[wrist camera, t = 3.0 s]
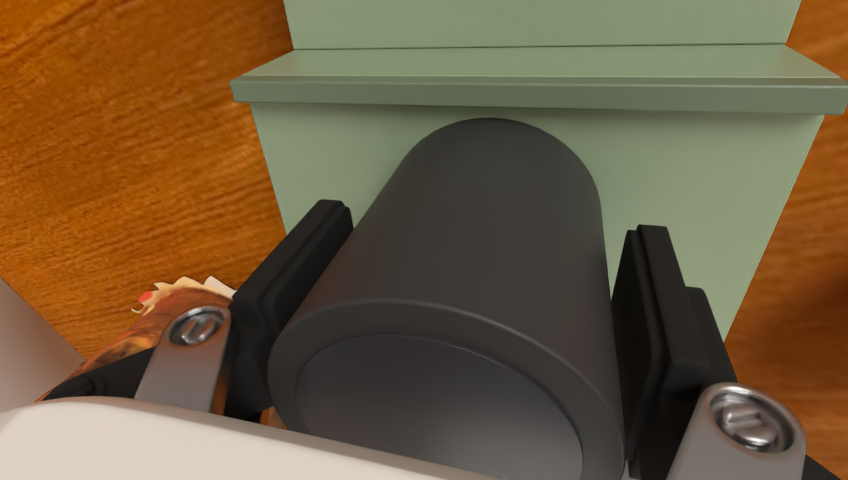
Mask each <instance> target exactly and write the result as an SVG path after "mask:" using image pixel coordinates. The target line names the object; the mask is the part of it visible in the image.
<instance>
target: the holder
mask: <svg viewBox="0 0 848 480" xmlns="http://www.w3.org/2000/svg"><path fill="white" fill-rule="evenodd" d="M267 382H268V389H269V393H270V396H271V399H272V402H273V404H274V407H275V409H276V411H277V413H278V415H279V417H280V418H281V420H282V421H283V423H284V424H285V426H286V427H287V429H288V430H289V431H294V432H299V433H303V434H308V435H312V436H317V437H321V438H326V439H330V440H335V441H339V442H344V443H348V444H353V445H357V446H362V447H366V448H371V449H375V450H379V451H384V452H388V453H393V454H397V455H402V456H406V457H411V458H415V459H419V460H424V461H428V462H433V463H437V464H442V465H446V466H451V467H455V468H459V469H464V470H468V471H472V472H477V473H481V474H485V475H490V476H494V477H499V478H503V479H507V480H621V478H622V476H623V474H624V469H625V464H626V460H627V454H626V438H625V428H624V419H623V409H622V400H621V390H620V381H619V371H618V362H617V353H616V343H615V334H614V324H613V315H612V305H611V296H610V286H609V277H608V267H607V258H606V249H605V239H604V230H603V220H602V211H601V202H600V198H599V194H598V190H597V187H596V185H595V182H594V180H593V178H592V176H591V174H590V173H589V171H588V169H587V168H586V166H585V165H584V163H583V162H582V161H581V160H580V158H579V157H578V156H577V155H576V154H575V153H574V152H573V151H572V150H571V149H570V148H569V147H568V146H567V145H565V144H564V143H563V142H561V141H560V140H558V139H557V138H556V137H554V136H553V135H551V134H549V133H547V132H545V131H543V130H541V129H539V128H537V127H534V126H531V125H529V124H526V123H523V122H518V121H514V120H509V119H501V118H474V119H468V120H463V121H459V122H455V123H452V124H449V125H446V126H444V127H442V128H440V129H438V130H435V131H434V132H432V133H431V134H429V135H427V136H426V137H424V138H423V139H422V140H421V141H419V142H418V143H417V144H416V145H415V146H414V147H413V148H412V149H411V150H410V151H409V153H408V154H407V155H406V156H405V157H404V159H403V160H402V162H401V163H400V164H399V166H398V167H397V169H396V170H395V172H394V173H393V174H392V176H391V177H390V179H389V180H388V181H387V183H386V184H385V186H384V187H383V189H382V190H381V191H380V193H379V194H378V196H377V197H376V198H375V200H374V201H373V203H372V204H371V206H370V207H369V208H368V210H367V211H366V213H365V214H364V215H363V217H362V218H361V220H360V221H359V223H358V224H357V225H356V227H355V228H354V230H353V231H352V232H351V234H350V235H349V237H348V238H347V240H346V241H345V242H344V244H343V245H342V247H341V248H340V249H339V251H338V252H337V254H336V255H335V257H334V258H333V259H332V261H331V262H330V264H329V265H328V266H327V268H326V269H325V271H324V272H323V274H322V275H321V276H320V278H319V279H318V281H317V282H316V283H315V285H314V286H313V288H312V289H311V291H310V292H309V293H308V295H307V296H306V298H305V299H304V300H303V302H302V303H301V305H300V306H299V307H298V309H297V310H296V312H295V313H294V315H293V316H292V317H291V319H290V320H289V322H288V323H287V324H286V326H285V327H284V329H283V330H282V332H281V333H280V334H279V336H278V338H277V339H276V341H275V343H274V345H273V346H272V349H271V352H270V355H269V359H268V364H267Z"/></svg>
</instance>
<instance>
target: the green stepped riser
mask: <svg viewBox="0 0 848 480" xmlns="http://www.w3.org/2000/svg"><path fill="white" fill-rule="evenodd" d="M283 2H284V7H285V12H286V16H287V21H288V26H289V30H290V35H291V40H292V44H293V48H294V49H295V50H294V51H292V52H290V53H288V54H285V55H283V56H281V57H279V58H277V59H275V60H273V61H270V62H268V63H266V64H264V65H262V66H260V67H257V68H255V69H253V70H251V71H249V72H247V73H245V74H243V75H241V76H239V77H237V78H235V79H232V80H230V81H229V84H230V88H231V91H232V94H233V98H234V100H235V102H246V103H249V104H250V108H251V111H252V115H253V118H254V122H255V126H256V129H257V133H258V136H259V140H260V143H261V147H262V150H263V154H264V157H265V161H266V164H267V168H268V171H269V175H270V178H271V182H272V185H273V189H274V192H275V196H276V199H277V203H278V206H279V210H280V214H281V217H282V221H283V224H284V228H285V231H286V235H288V233H289V232H290V231H291V230H292V229H293V228H294V227H295V226H296V225H297V224H298V222H299V221H300V220H301V219H302V218H303V217H304V216H305V215H306V214H307V212H308V211H309V210H310V209H311V208H312V207H313V206H314V205H315V204H316V203H317V201H319V200H320V199H328V200H340V201H342V202H343V203H344V205H345V206H347V207H349V208H350V211H351V216H352V221H353V227H354V228H355V227H356V225H357V224H358V223H359V221H360V220H361V218H362V217H363V215H364V214H365V213H366V211H367V210H368V208H369V207H370V206H371V204H372V203H373V201H374V200H375V198H376V197H377V196H378V194H379V193H380V191H381V190H382V189H383V187H384V186H385V184H386V183H387V181H388V180H389V179H390V177H391V176H392V174H393V173H394V172H395V170H396V169H397V167H398V166H399V164H400V163H401V162H402V160H403V159H404V157H405V156H406V155H407V154H408V153H409V151H410V150H411V149H412V148H413V147H414V146H415V145H416V144H417V143H418V142H419V141H421V140H422V139H423V138H424V137H426V136H427V135H429V134H431V133H432V132H434V131H435V130H438V129H440V128H442V127H444V126H446V125H449V124H452V123H455V122H459V121H463V120H468V119H474V118H501V119H509V120H514V121H518V122H523V123H526V124H529V125H531V126H534V127H537V128H539V129H541V130H543V131H545V132H547V133H549V134H551V135H553V136H554V137H556V138H557V139H558V140H560V141H561V142H563V143H564V144H565V145H567V146H568V147H569V148H570V149H571V150H572V151H573V152H574V153H575V154H576V155H577V156H578V157H579V158H580V160H581V161H582V162H583V163H584V165H585V166H586V168H587V169H588V171H589V173H590V174H591V176H592V178H593V180H594V182H595V185H596V187H597V190H598V194H599V198H600V202H601V211H602V220H603V230H604V239H605V249H606V258H607V267H608V277H609V286H610V296H611V298H612V294H613V289H614V285H615V281H616V276H617V272H618V267H619V263H620V259H621V254H622V250H623V245H624V241H625V236H626V233H627V230H636V228H637V226H638V225H639V224H644V225H657V226H666V227H667V229H668V232H669V235H670V238H671V241H672V245H673V248H674V251H675V254H676V257H677V260H678V264H679V267H680V270H681V273H682V276H683V280H684V283H685V286H689V287H698V288H702V289H703V290H704V292H705V294H706V296H707V298H708V301H709V304H710V307H711V309H712V312H713V315H714V318H715V320H716V323H717V326H718V329H719V331H720V334H721V337H722V340H723V342H724V340H725V338H726V336H727V333H728V331H729V329H730V327H731V324H732V322H733V320H734V318H735V315H736V313H737V311H738V309H739V307H740V304H741V302H742V300H743V298H744V295H745V293H746V291H747V289H748V286H749V284H750V282H751V280H752V277H753V275H754V273H755V271H756V268H757V266H758V264H759V262H760V259H761V257H762V255H763V253H764V250H765V248H766V246H767V244H768V241H769V239H770V237H771V235H772V233H773V230H774V228H775V226H776V224H777V221H778V219H779V217H780V215H781V212H782V210H783V208H784V206H785V203H786V201H787V199H788V197H789V194H790V192H791V190H792V188H793V185H794V183H795V181H796V179H797V176H798V174H799V172H800V170H801V167H802V165H803V163H804V161H805V158H806V156H807V154H808V152H809V150H810V147H811V145H812V143H813V141H814V138H815V136H816V134H817V132H818V129H819V127H820V125H821V123H822V120H823V118H824V116H825V115H841V114H843V113H844V111H845V109H846V106H847V104H848V82H847V81H846V80H844V79H842V78H841V77H840V76H838V75H836V74H835V73H833V72H831V71H829V70H828V69H826V68H824V67H822V66H821V65H819V64H817V63H815V62H814V61H812V60H810V59H809V58H807V57H805V56H803V55H802V54H800V53H798V52H796V51H795V50H793V49H791V48H789V47H788V46H786V45H784V43H786V41H787V39H788V36H789V33H790V30H791V28H792V25H793V22H794V19H795V17H796V14H797V11H798V8H799V6H800V3H801V0H283Z"/></svg>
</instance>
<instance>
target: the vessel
mask: <svg viewBox="0 0 848 480" xmlns="http://www.w3.org/2000/svg"><path fill="white" fill-rule="evenodd" d="M154 285H155V286H156V287H157V288H159V289H160V290H157V291H145V292H144V294H143V295H142V296H141V297H140V298H139V300H138V301H139V302H140V303H142V304H143V305H144V307H143V309H141V310H139V311H136V310H134V309H132V308H131V310H132V311H134V312H136V313H138V314H141V315H143V317H142V318H141V319H140V320H139V321H137V322H136V323H135V324H134V325H133V326H132V327H130V328H129V329H128V330H127V331H125V332H124V333H123V334H121V335H120V336H119V337H117V338H116V339H115V340H114V341H113V342H111V343H110V344H109V345H107V346H106V347H105V348H103V349H102V350H100V351H99V352H97V353H96V354H95V355H94V356H92V357H91V358H90V359H89V360H88V361H85V362H83V363H82V364H81V365H80V366H79V367H78V368H77V369H76V371H75V372H74V373H73V374H72V375H70V376H69V377H68V378H67V379H66V380H65V381H67V380H69V379H71V378H73V377H75V376H78V375H80V374H83V373H85V372H88V371H91V370H93V369H96V368H98V367H101V366H104V365H106V364H109V363H111V362H114V361H117V360H119V359H122V358H125V357H127V356H130V355H132V354H135V353H138V352H140V351H143V350H145V349H148V348H151V347H153V346H156V345H157V342H158V340H159V337H160V335H161V333H162V331H163V329H164V328H165V326H166V324H167V323H168V322H169V321H171V320H172V319H173V318H174V317H175V316H177V315H178V314H180V313H181V312H183V311H185V310H187V309H189V308H192V307H194V306H198V305H202V304H210V303H215V304H221V305H223V306H225V307H228V306H229V304H230V303H231V302H232V301H233V299H232V295H233V294H234V293H235V292H236V291H237V290H233V289H231V288H229V287H228V286H226V285H224V284H223V283H221V282H220V281H218V280H217V279H215V278H214V277H212V276H210V277H209V278H208V279H207V280H206V282H205V283H204V285H202V284H200V283H198V282H197V281H195V280H192V279H190V278H187V277H182V278H181V279H179V280H177V281H176V282H175V283H174V285H171V284H167V283H163V282H161V283H154ZM65 381H63V382H65ZM63 382H62V383H63ZM62 383H61V384H62ZM59 385H60V384H59ZM59 385H58V386H59ZM56 387H57V386H56ZM56 387H55V388H56ZM52 390H53V389H52ZM52 390H50V391H48V392H47V393H46V394H44V395H43V396H41V397H40V398H39V399H38V400H36V401H35V402H39V401H42V399H43V398H44V397H45V396H46V395H47V394H49V393H50V392H51V391H52ZM33 403H34V402H33ZM283 425H284V423H283V421H282V420H281V418H280V417H279V415H278V413H277V411H276V409H275V407H274V405H273V407H271V408H269V419H268V426H271V427H276V428H280V429H281V428H282V427H283Z"/></svg>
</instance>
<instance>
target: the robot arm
mask: <svg viewBox="0 0 848 480" xmlns="http://www.w3.org/2000/svg"><path fill="white" fill-rule="evenodd" d="M353 230H354V227H353V221H352V216H351V211H350V208H349V207H347V206H345V205H344V203H343V202H342V201H340V200H328V199H320V200H319V201H317V203H316V204H315V205H314V206H313V207H312V208H311V209H310V210H309V211H308V212H307V214H306V215H305V216H304V217H303V218H302V219H301V220H300V221H299V222H298V224H297V225H296V226H295V227H294V228H293V229H292V230H291V231H290V232H289V233H288V235H287V236H286V237H285V238H284V239H283V240H282V241H281V242H280V243H279V245H278V246H277V247H276V248H275V249H274V250H273V251H272V252H271V253H270V254H269V256H268V257H267V258H266V259H265V260H264V261H263V262H262V263H261V264H260V265H259V267H258V268H257V269H256V270H255V271H254V272H253V273H252V274H251V275H250V277H249V278H248V279H247V280H246V281H245V282H244V283H243V284H242V285H241V286H240V288H239V289H238V290H237V291H236V292H235V293H234V294H233V295H232V299H233V301H232V302H231V303H230V304H229V306H228V307H225V306H223V305H221V304H215V303H210V304H202V305H198V306H194V307H192V308H189V309H187V310H185V311H183V312H181V313H180V314H178V315H177V316H175V317H174V318H173V319H172V320H171V321H169V322H168V323H167V324H166V326H165V328H164V329H163V331H162V333H161V335H160V337H159V340H158V342H157V345H156V346H153V347H151V348H148V349H145V350H143V351H140V352H138V353H135V354H132V355H130V356H127V357H125V358H122V359H119V360H117V361H114V362H111V363H109V364H106V365H104V366H101V367H98V368H96V369H93V370H91V371H88V372H85V373H83V374H80V375H78V376H75V377H73V378H71V379H69V380H67V381H65V382H63V383H62V384H60V385H59V386H57V387H56V388H54V389H53V390H52V391H51V392H50V393H49V394H47V395H46V396H45V397H44V398H43V399H42V401H39V402H34V403H30V404H26V405H22V406H19V407H16V408H12V409H9V410H6V411H3V412H1V413H0V480H507V479H503V478H499V477H494V476H490V475H485V474H481V473H477V472H472V471H468V470H464V469H459V468H455V467H451V466H446V465H442V464H437V463H433V462H428V461H424V460H419V459H415V458H411V457H406V456H402V455H397V454H393V453H388V452H384V451H379V450H375V449H371V448H366V447H362V446H357V445H353V444H348V443H344V442H339V441H335V440H330V439H326V438H321V437H317V436H312V435H308V434H303V433H299V432H294V431H289V430H285V429H280V428H276V427H271V426H268V419H269V408H271V407H273V405H274V404H273V402H272V399H271V396H270V393H269V389H268V382H267V364H268V359H269V355H270V352H271V349H272V346H273V345H274V343H275V341H276V339H277V338H278V336H279V334H280V333H281V332H282V330H283V329H284V327H285V326H286V324H287V323H288V322H289V320H290V319H291V317H292V316H293V315H294V313H295V312H296V310H297V309H298V307H299V306H300V305H301V303H302V302H303V300H304V299H305V298H306V296H307V295H308V293H309V292H310V291H311V289H312V288H313V286H314V285H315V283H316V282H317V281H318V279H319V278H320V276H321V275H322V274H323V272H324V271H325V269H326V268H327V266H328V265H329V264H330V262H331V261H332V259H333V258H334V257H335V255H336V254H337V252H338V251H339V249H340V248H341V247H342V245H343V244H344V242H345V241H346V240H347V238H348V237H349V235H350V234H351V232H352V231H353ZM611 305H612V315H613V324H614V334H615V343H616V353H617V362H618V371H619V381H620V390H621V400H622V409H623V419H624V428H625V438H626V454H627V462H628V471H629V478H633V479H638V480H841V479H839V478H838V477H837V476H835V475H834V474H832V473H831V472H830V471H828V470H827V469H826V468H824V467H823V466H821V465H820V464H819V463H817V462H816V461H814V460H813V459H812V458H810V457H809V456H808V455H806V449H807V441H806V433H805V431H804V429H803V427H802V425H801V423H800V421H799V420H798V419H797V417H796V416H795V415H794V414H793V413H792V412H791V410H790V409H789V408H788V407H786V406H785V405H784V404H782V403H781V402H780V401H779V400H777V399H776V398H775V397H773V396H771V395H769V394H767V393H765V392H763V391H762V390H760V389H757V388H754V387H751V386H748V385H745V384H740V383H738V381H737V378H736V376H735V373H734V370H733V367H732V365H731V362H730V359H729V356H728V354H727V351H726V348H725V345H724V342H723V340H722V337H721V334H720V331H719V329H718V326H717V323H716V320H715V318H714V315H713V312H712V309H711V307H710V304H709V301H708V298H707V296H706V294H705V292H704V290H703V289H702V288H698V287H689V286H685V283H684V280H683V276H682V273H681V270H680V267H679V264H678V260H677V257H676V254H675V251H674V248H673V245H672V241H671V238H670V235H669V232H668V229H667V227H666V226H657V225H644V224H639V225H638V226H637V228H636V230H627V233H626V236H625V241H624V245H623V250H622V254H621V259H620V263H619V267H618V272H617V276H616V281H615V285H614V289H613V294H612V298H611Z"/></svg>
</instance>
